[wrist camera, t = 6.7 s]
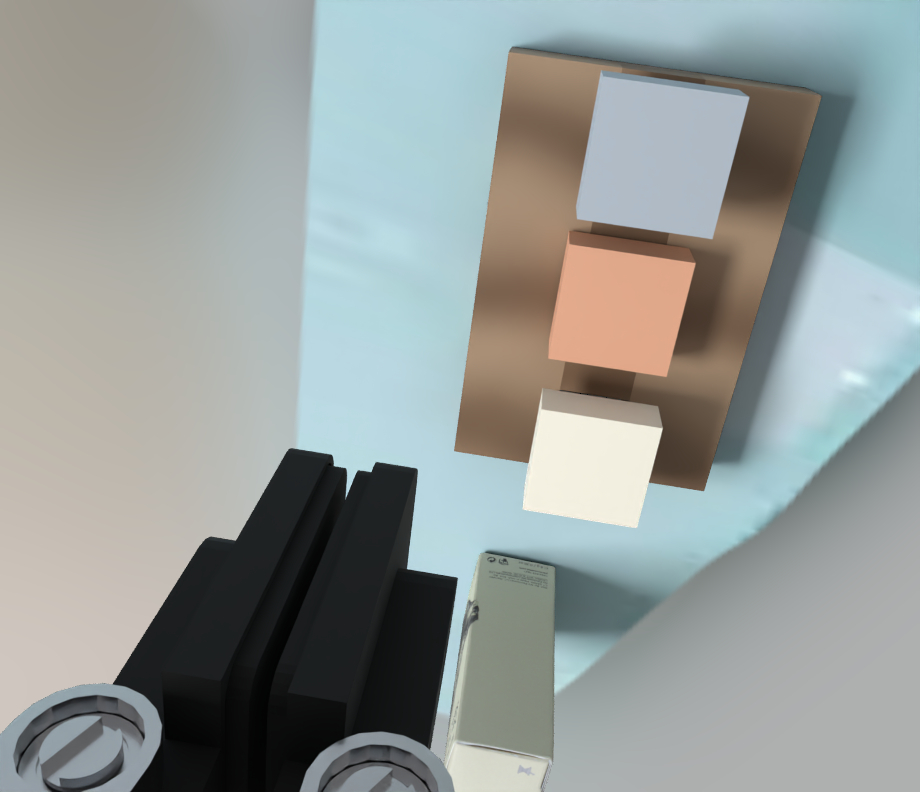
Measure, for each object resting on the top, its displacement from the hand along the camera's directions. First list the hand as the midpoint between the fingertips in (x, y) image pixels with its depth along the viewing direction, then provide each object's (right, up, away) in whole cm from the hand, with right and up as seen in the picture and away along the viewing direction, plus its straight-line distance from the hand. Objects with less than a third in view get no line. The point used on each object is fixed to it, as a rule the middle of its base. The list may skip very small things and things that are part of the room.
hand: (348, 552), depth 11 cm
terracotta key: (+8, +7, +28) cm, 30 cm away
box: (+4, -9, +37) cm, 38 cm away
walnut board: (+8, +8, +28) cm, 30 cm away
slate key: (+9, +12, +23) cm, 28 cm away
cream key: (+7, +1, +29) cm, 30 cm away
